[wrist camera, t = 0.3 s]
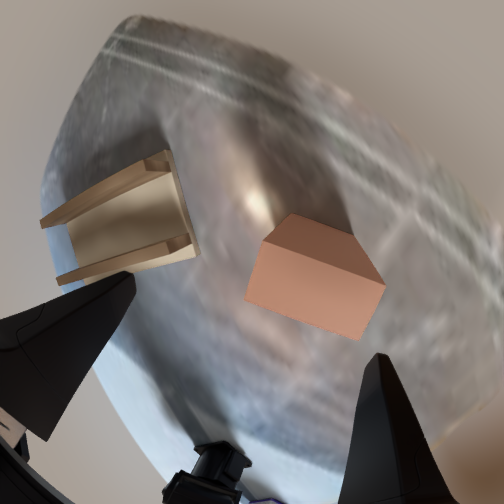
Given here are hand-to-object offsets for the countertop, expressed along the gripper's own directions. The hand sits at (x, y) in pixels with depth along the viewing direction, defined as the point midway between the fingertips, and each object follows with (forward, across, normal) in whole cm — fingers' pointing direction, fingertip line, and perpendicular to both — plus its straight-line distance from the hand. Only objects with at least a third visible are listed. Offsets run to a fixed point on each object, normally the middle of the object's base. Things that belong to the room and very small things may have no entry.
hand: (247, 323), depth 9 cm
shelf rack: (+13, +17, +8) cm, 23 cm away
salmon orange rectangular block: (+14, -2, +4) cm, 15 cm away
